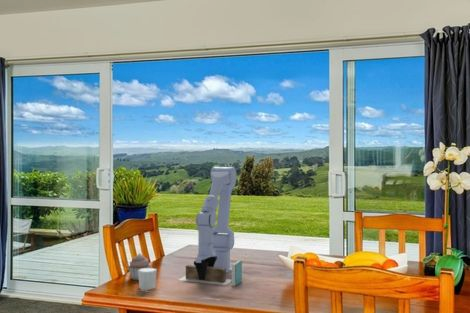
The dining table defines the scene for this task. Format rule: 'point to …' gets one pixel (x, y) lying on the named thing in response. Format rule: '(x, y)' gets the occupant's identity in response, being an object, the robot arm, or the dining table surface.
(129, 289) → the dining table surface
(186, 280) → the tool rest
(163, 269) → the dining table surface
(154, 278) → the shot glass
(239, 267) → the tile
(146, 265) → the cupcake
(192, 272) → the bar
